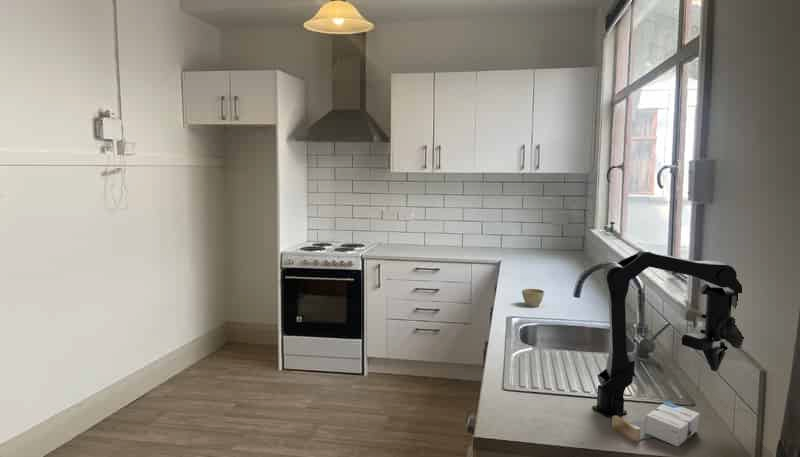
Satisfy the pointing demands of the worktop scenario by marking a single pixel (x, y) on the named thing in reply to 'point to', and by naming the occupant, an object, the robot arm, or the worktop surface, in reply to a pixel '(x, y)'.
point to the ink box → (671, 423)
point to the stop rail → (626, 428)
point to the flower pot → (532, 297)
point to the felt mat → (642, 429)
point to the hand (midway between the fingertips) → (714, 370)
